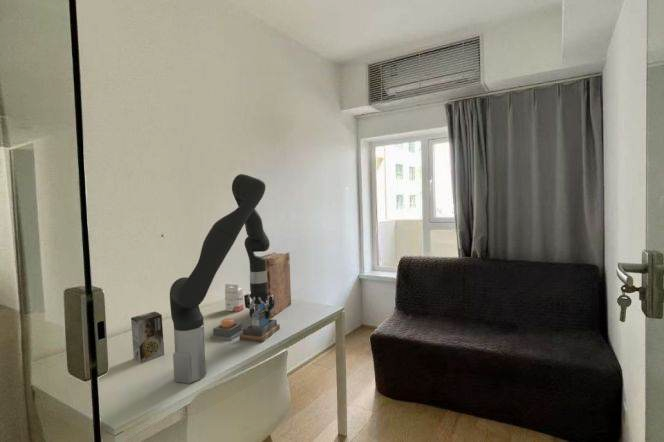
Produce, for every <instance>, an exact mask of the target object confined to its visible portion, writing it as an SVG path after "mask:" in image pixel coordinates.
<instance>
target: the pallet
mask: <svg viewBox="0 0 664 442" xmlns="http://www.w3.org/2000/svg"><path fill="white" fill-rule="evenodd" d="M277 321H278V320H277V319H273V318H269V324H268V325H266V326H265V327H263V328H262V329H261V330H260V329H252V322H251V323H250V324H248V325H247V326H245V327H242V329H243V333H242V334H241V335H239V340H240V341H248V342H256V343H257V342H259V343H264V342H266V340H268V339H269V338H270V337H272V335H274V334H275V333H277V331H279V330H280V329H281V326H280V324H278V323H277Z"/></svg>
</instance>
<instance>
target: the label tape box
mask: <svg viewBox="0 0 664 442" xmlns="http://www.w3.org/2000/svg"><path fill="white" fill-rule="evenodd" d="M268 303H269V302H268ZM258 306H259V310H258V311H256V312H255V313H253V314H252V318H251V323H252V329H260V330H261V329H262V328H263V327H265V326H266V325H268V324H269V319H270V318H269V319H266V318H265V311H266V310H265V308H264V307H262V304H260V305H258Z"/></svg>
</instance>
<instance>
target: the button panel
mask: <svg viewBox="0 0 664 442" xmlns="http://www.w3.org/2000/svg"><path fill="white" fill-rule="evenodd" d="M212 333H213V334H210V335H209V339H212V340H213V339H214V340H224V341H233V340H235V339H236V338H238V337H240V335H241V334H242V333H243V323H241V322H234V326H233V327H232V328H230V329H227V328H222V325H221V324H218V325H217V326H215V327H213V328H212Z"/></svg>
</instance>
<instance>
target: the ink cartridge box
mask: <svg viewBox="0 0 664 442" xmlns="http://www.w3.org/2000/svg"><path fill="white" fill-rule="evenodd" d="M224 296H225V297H224V299H225V311H226V312H238V313H239V312H240V311H241V312H242V311H243V310H244V308H245V307H244V292H243V288H242V287H240V288H239V285H238V284H225V285H224Z"/></svg>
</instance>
